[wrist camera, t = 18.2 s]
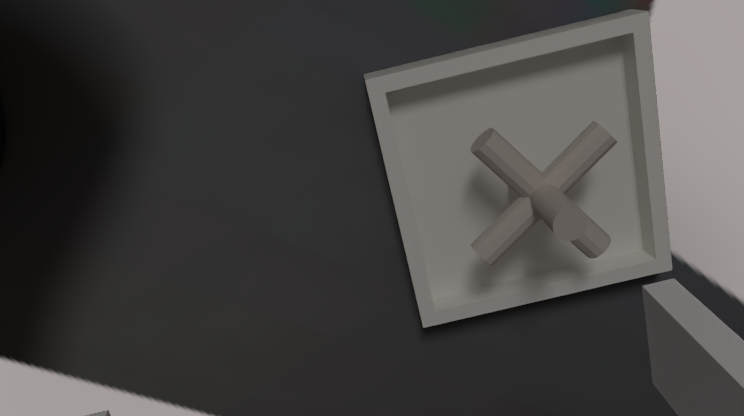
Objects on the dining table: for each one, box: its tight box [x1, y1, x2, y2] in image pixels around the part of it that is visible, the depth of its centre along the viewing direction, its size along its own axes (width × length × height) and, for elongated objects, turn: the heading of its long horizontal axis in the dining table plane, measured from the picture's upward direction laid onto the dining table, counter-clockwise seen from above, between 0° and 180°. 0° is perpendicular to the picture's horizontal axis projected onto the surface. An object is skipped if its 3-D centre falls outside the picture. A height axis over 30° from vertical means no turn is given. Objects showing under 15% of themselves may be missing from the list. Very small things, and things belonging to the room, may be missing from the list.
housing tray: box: [363, 9, 672, 328], centre depth 44 cm, size 17×17×2 cm
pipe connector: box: [471, 121, 617, 266], centre depth 40 cm, size 10×10×10 cm
